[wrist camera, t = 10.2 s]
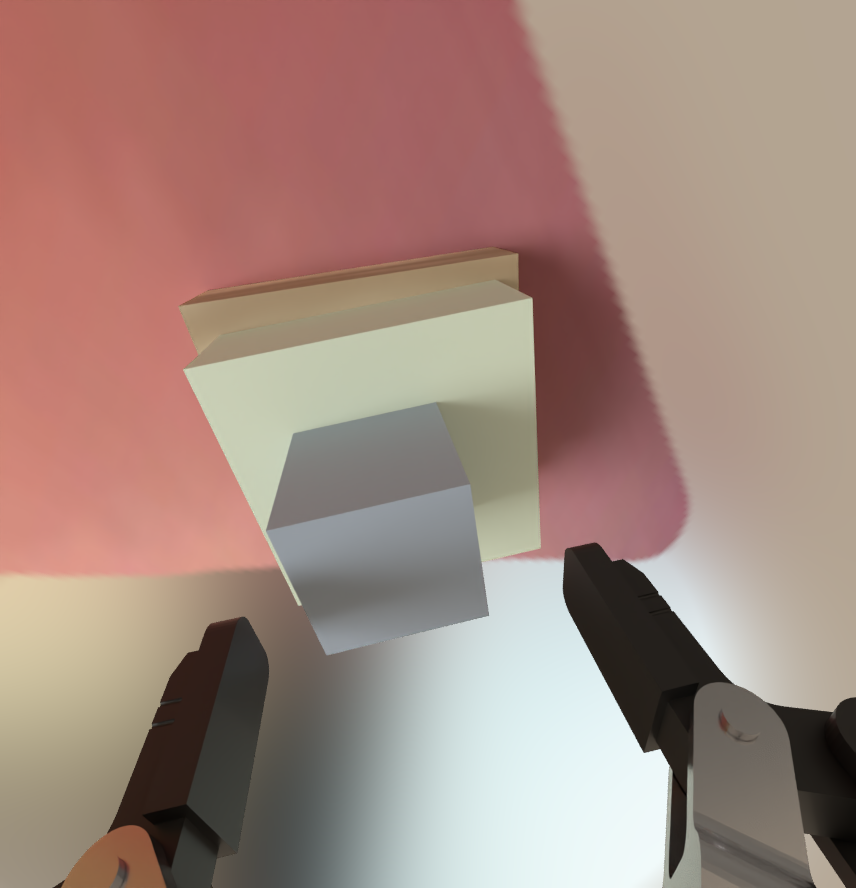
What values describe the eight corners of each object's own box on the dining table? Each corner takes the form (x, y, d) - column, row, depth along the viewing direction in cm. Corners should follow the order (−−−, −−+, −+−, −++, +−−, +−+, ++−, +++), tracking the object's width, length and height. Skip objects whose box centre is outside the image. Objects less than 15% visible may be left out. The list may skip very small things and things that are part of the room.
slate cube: (293, 433, 14) (265, 530, 10) (436, 402, 14) (470, 483, 10) (334, 540, 17) (326, 655, 12) (455, 512, 17) (488, 615, 13)
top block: (219, 335, 16) (182, 369, 13) (495, 279, 17) (532, 298, 13) (307, 542, 22) (298, 605, 18) (511, 495, 22) (540, 548, 19)
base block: (210, 288, 19) (178, 305, 15) (489, 245, 20) (518, 253, 16) (292, 511, 25) (283, 558, 22) (499, 471, 26) (521, 511, 23)
